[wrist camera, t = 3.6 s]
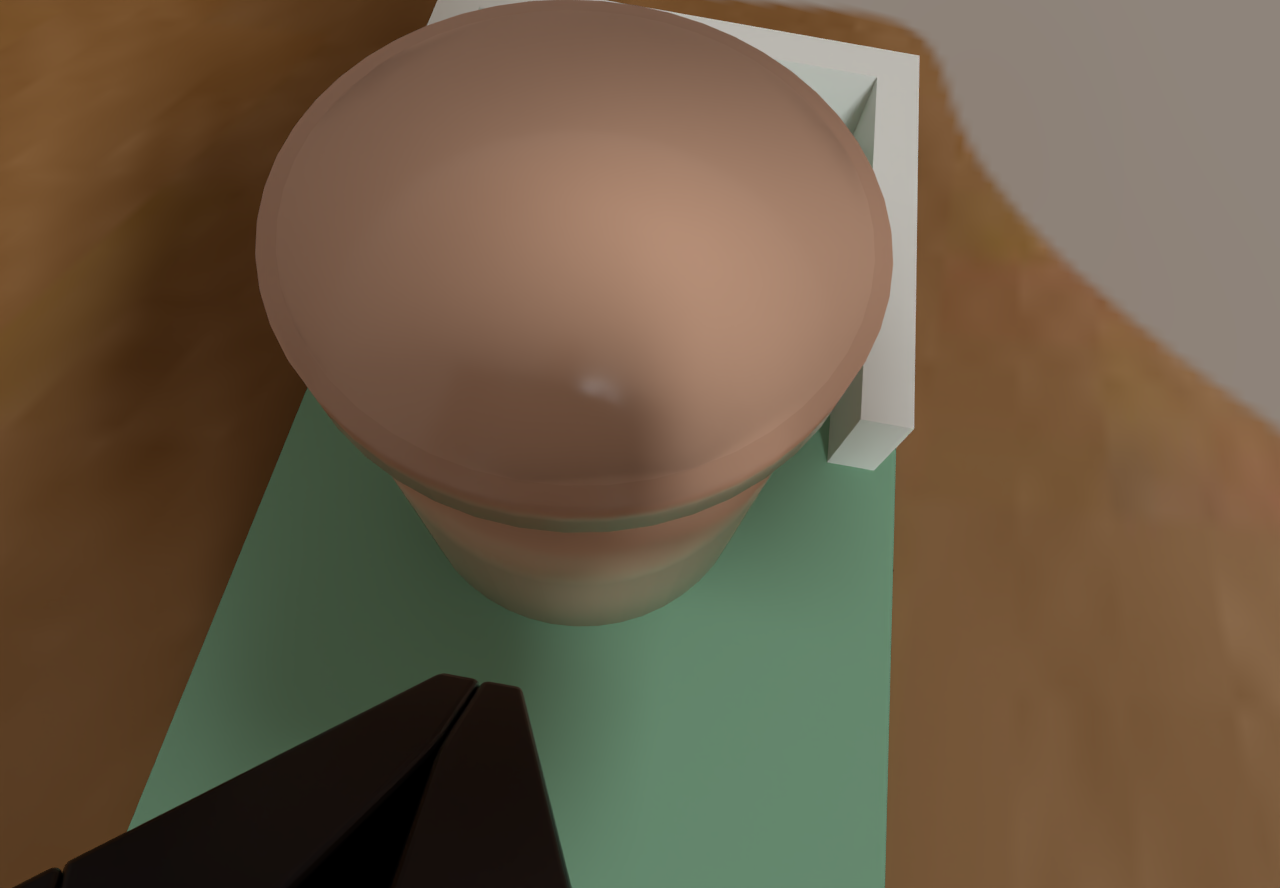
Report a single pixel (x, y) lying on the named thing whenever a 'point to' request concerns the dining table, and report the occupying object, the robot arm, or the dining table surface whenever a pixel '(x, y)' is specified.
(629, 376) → the terracotta pot
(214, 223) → the dining table surface
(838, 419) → the white rail holder
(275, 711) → the green mat
